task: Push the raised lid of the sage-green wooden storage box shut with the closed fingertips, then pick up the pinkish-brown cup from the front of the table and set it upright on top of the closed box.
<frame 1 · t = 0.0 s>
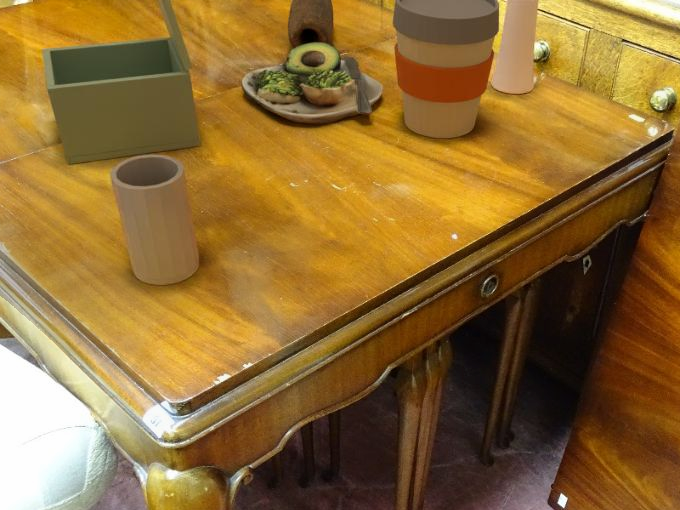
avocado toast plate: (313, 96, 103), on the table
cosmetic bottle: (512, 87, 109), on the table
stone weight: (312, 43, 118), on the table
storage box: (129, 133, 92), on the table
reusable coffee cup: (439, 123, 99), on the table
pinkish-brown cup: (166, 265, 72), on the table
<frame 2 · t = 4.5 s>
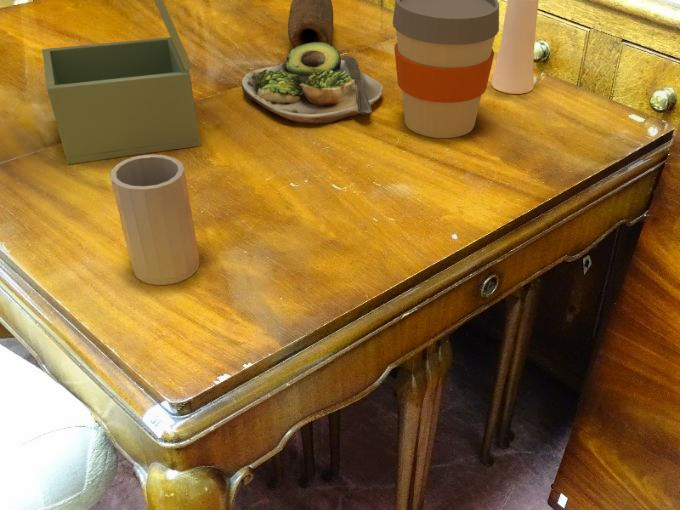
everything else where it was.
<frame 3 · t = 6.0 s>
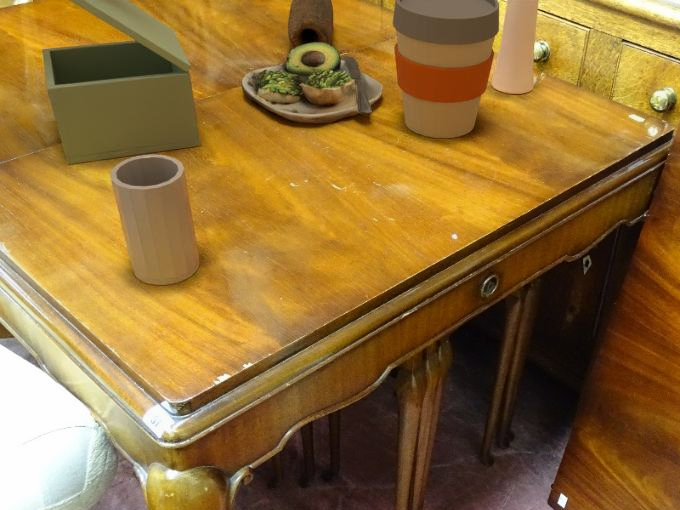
box lid: (117, 10, 84), point 14 cm above the table, hinge at 39.6°, touching gripper
everything else where it was.
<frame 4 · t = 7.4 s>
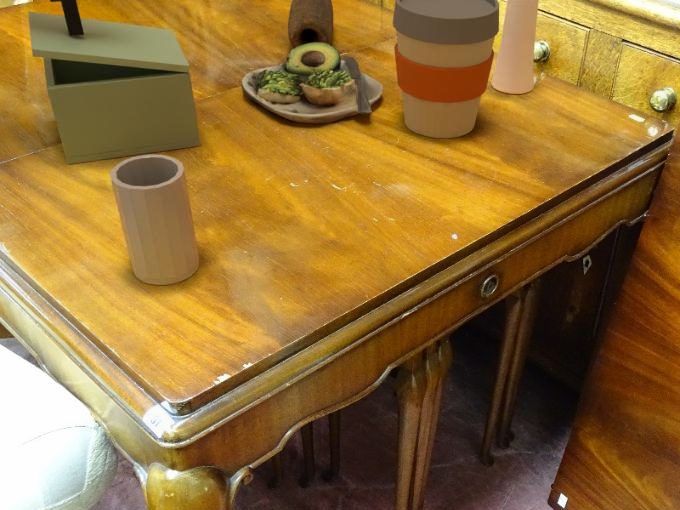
hand: (75, 30, 83), 12 cm above the table, tool pointing down, fingers closed
box lid: (108, 42, 85), point 11 cm above the table, hinge at 12.6°, touching gripper
everything else where it was.
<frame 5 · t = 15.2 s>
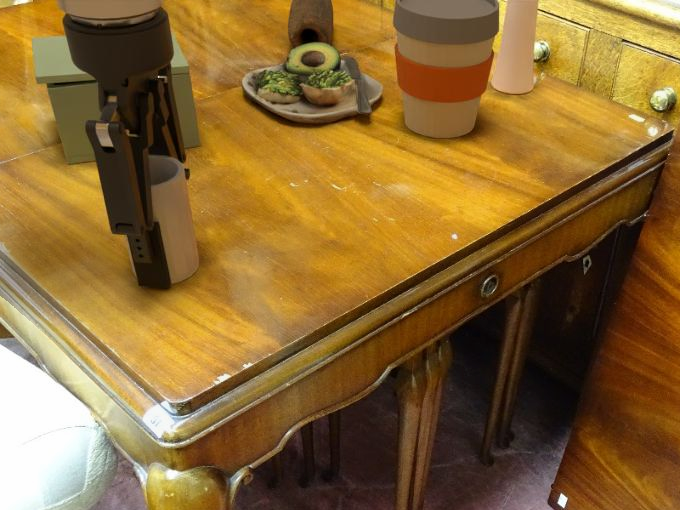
hand: (165, 262, 72), 0 cm above the table, tool pointing down, fingers closed on pinkish-brown cup, 6 cm apart
pinkish-brown cup: (166, 265, 72), on the table, touching gripper
box lid: (109, 54, 86), point 10 cm above the table, hinge at 1.9°
everything else where it was.
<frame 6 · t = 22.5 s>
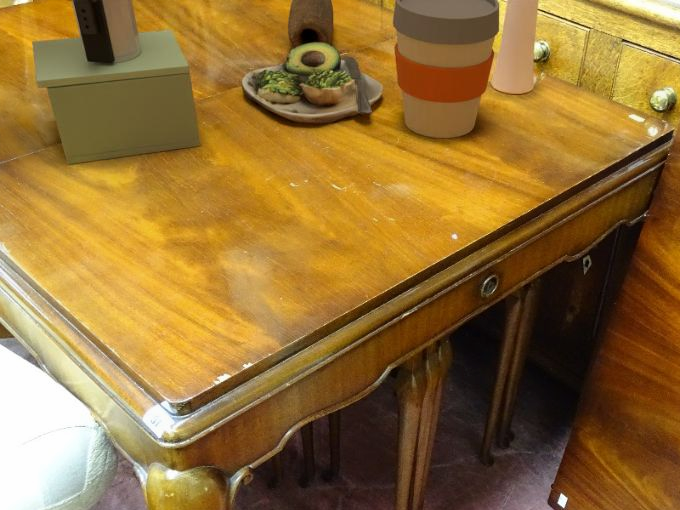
hand: (111, 49, 86), 10 cm above the table, tool pointing down, fingers closed on pinkish-brown cup, 6 cm apart
pinkish-brown cup: (113, 52, 86), point 10 cm above the table, touching box lid, gripper
box lid: (109, 56, 86), point 9 cm above the table, hinge at 0.4°, touching pinkish-brown cup
everything else where it was.
when the fingers open (10 cm above the table, at t = 22.6 s): pinkish-brown cup stays where it is, resting on box lid.
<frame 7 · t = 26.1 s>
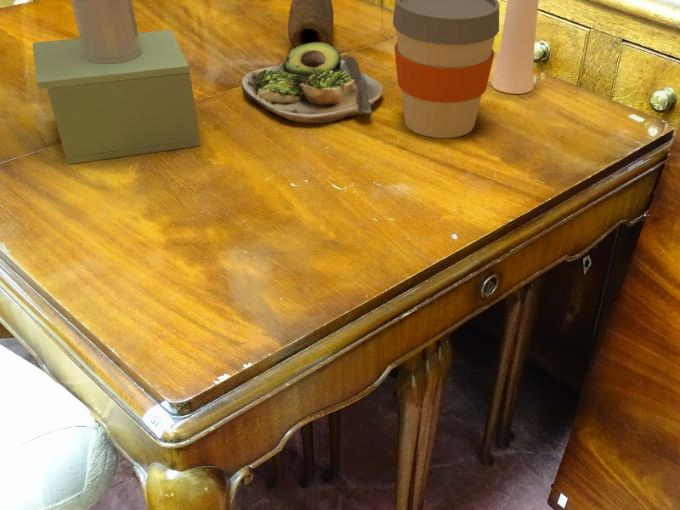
pinkish-brown cup: (113, 53, 86), point 10 cm above the table, touching box lid
box lid: (110, 57, 86), point 9 cm above the table, hinge at -0.2°, touching pinkish-brown cup, storage box
everything else where it was.
at the end: box lid at +0° (first picture: +80°); pinkish-brown cup inside the target area on the storage box (0.0 cm from its centre), point 9.6 cm above the storage box's base; pinkish-brown cup tilted 0° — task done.
